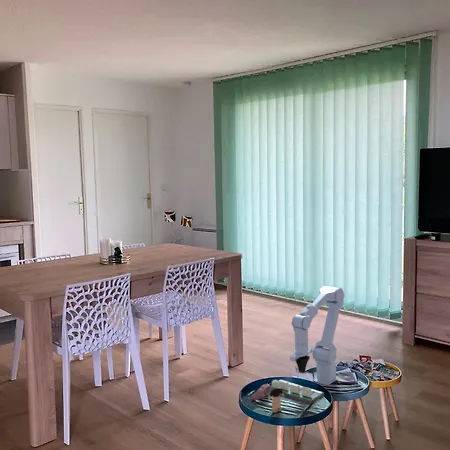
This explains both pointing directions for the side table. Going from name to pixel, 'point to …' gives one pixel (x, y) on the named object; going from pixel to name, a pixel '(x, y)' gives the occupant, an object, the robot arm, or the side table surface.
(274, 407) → the grandmother figurine
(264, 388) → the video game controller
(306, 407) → the side table surface
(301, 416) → the side table surface
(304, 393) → the block
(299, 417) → the side table surface
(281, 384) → the block
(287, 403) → the side table surface
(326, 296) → the robot arm
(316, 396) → the breaker panel
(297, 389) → the block
